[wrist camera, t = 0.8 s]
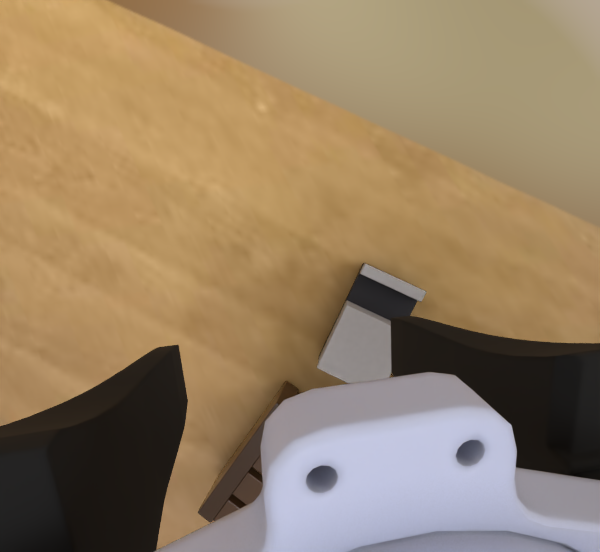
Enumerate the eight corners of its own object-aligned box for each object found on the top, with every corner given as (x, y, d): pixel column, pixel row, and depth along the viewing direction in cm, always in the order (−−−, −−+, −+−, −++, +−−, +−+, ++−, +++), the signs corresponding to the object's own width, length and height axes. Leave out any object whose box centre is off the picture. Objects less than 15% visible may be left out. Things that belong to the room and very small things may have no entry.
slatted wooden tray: (479, 520, 29) (503, 569, 24) (400, 613, 30) (410, 676, 26) (286, 380, 30) (276, 402, 26) (218, 475, 31) (196, 513, 27)
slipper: (363, 262, 29) (366, 263, 25) (419, 288, 28) (431, 293, 25) (318, 355, 30) (315, 370, 26) (373, 382, 29) (377, 401, 25)
